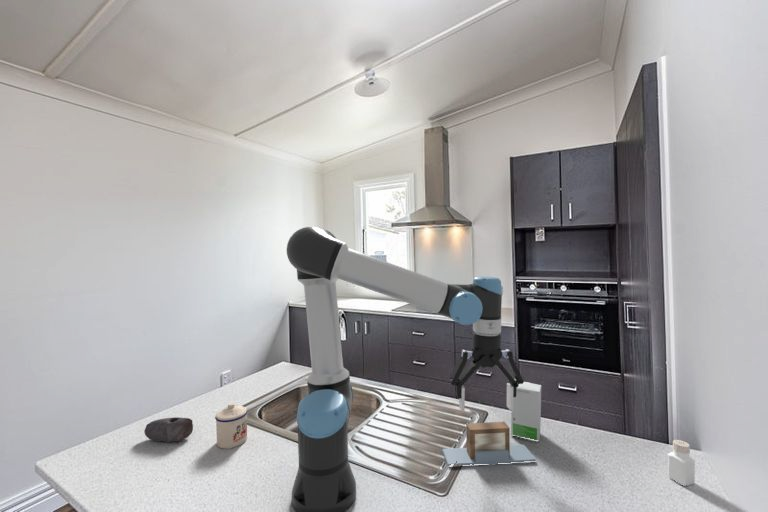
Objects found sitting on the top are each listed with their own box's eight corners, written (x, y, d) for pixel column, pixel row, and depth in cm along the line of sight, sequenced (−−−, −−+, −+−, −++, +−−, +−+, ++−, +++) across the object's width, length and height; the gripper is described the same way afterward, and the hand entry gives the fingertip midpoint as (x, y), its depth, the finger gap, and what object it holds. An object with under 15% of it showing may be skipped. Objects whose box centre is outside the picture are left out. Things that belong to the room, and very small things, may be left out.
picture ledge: (448, 467, 94) (448, 445, 94) (442, 452, 101) (442, 431, 101) (535, 462, 95) (535, 441, 95) (524, 448, 102) (523, 427, 102)
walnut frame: (470, 459, 96) (470, 430, 96) (466, 451, 100) (466, 423, 99) (509, 457, 97) (509, 428, 96) (504, 449, 100) (504, 421, 100)
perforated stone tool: (138, 443, 109) (138, 421, 108) (152, 434, 114) (151, 413, 114) (183, 446, 107) (183, 423, 107) (195, 436, 112) (194, 415, 112)
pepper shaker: (684, 487, 85) (684, 449, 85) (666, 477, 89) (666, 440, 88) (695, 484, 86) (696, 446, 86) (678, 474, 90) (678, 437, 89)
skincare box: (510, 436, 109) (510, 386, 108) (513, 426, 114) (513, 379, 114) (540, 443, 105) (539, 391, 104) (541, 432, 111) (541, 383, 110)
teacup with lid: (237, 450, 104) (236, 411, 103) (209, 448, 105) (208, 410, 105) (257, 429, 116) (256, 394, 115) (232, 427, 117) (231, 393, 117)
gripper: (445, 336, 93) (444, 416, 93) (537, 335, 94) (536, 414, 95) (439, 330, 100) (438, 403, 101) (524, 329, 102) (523, 401, 102)
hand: (485, 408), depth 98 cm, fingers open, 13 cm apart
